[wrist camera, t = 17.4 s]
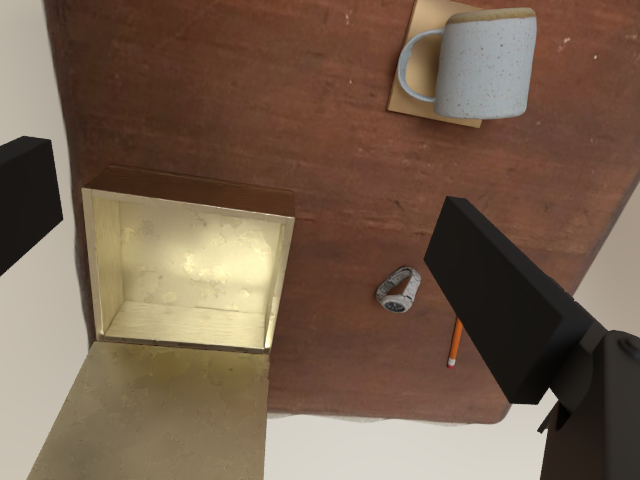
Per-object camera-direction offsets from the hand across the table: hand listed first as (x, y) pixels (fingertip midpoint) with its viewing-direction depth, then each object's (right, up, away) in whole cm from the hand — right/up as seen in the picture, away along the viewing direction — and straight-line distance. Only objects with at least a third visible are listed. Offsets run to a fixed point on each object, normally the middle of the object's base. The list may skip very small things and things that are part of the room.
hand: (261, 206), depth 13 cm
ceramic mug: (+14, +15, +23) cm, 31 cm away
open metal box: (-12, -2, +31) cm, 33 cm away
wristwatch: (+12, -6, +36) cm, 38 cm away
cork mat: (+14, +16, +24) cm, 32 cm away
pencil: (+21, -12, +40) cm, 47 cm away
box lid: (-12, -19, +21) cm, 31 cm away
